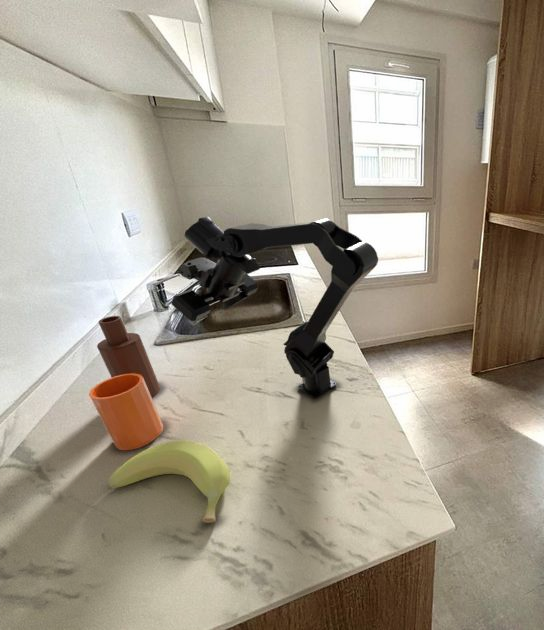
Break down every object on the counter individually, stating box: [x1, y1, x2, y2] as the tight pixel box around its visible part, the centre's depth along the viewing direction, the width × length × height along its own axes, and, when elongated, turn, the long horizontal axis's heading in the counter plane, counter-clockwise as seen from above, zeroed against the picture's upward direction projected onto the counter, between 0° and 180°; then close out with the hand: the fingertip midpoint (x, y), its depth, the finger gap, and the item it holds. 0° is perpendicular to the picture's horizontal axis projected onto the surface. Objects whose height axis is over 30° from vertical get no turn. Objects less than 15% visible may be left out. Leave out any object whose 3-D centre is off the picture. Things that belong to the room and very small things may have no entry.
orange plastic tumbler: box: [88, 373, 164, 451], centre depth 62 cm, size 7×7×12 cm
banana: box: [106, 440, 231, 524], centre depth 53 cm, size 14×6×20 cm
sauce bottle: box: [96, 315, 161, 398], centre depth 71 cm, size 7×7×19 cm
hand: (208, 315), depth 80 cm, fingers open, 9 cm apart
